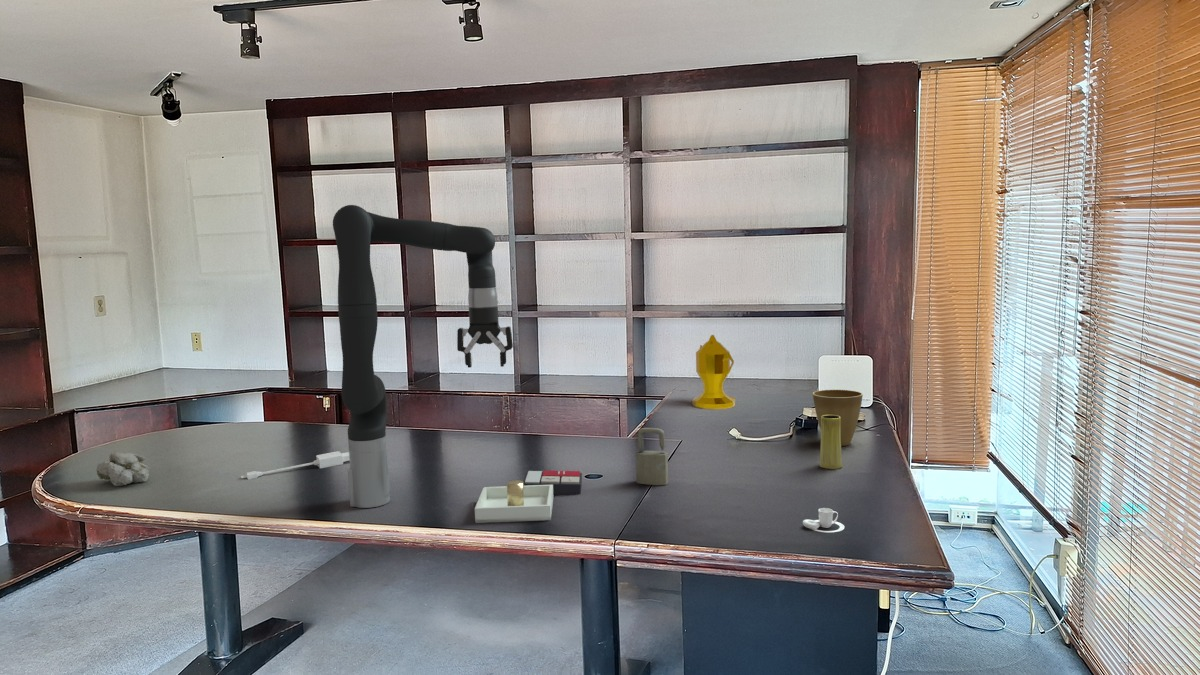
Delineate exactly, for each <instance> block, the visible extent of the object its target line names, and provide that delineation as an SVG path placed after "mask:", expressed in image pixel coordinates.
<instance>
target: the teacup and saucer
mask: <svg viewBox="0 0 1200 675" xmlns="http://www.w3.org/2000/svg"><path fill="white" fill-rule="evenodd" d="M817 512H818V519H803V520H802V525H803V526H804V527H805V528H808V529H810V530H812V531H814V532H818V533H824V534H825V533H827V534H829V533H830V534H831V533H834V534H835V533H838V532H842V531H843V530H845V525H844V524H843V523H841V522H838V521H837V520H838V519H839V513H838V512H837V511H834V510H833V509H832V508H828V507H821V508H818V511H817ZM835 513H836V517H835V519H834V514H835ZM833 519H834V520H833ZM833 524H835V525H837V526H839V527H838V529H835V530H820V529H819V528H820V527H822V528H825V529H828V528H831V527H832V526H833Z"/></svg>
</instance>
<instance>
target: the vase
mask: <svg viewBox="0 0 1200 675" xmlns="http://www.w3.org/2000/svg"><path fill="white" fill-rule="evenodd" d="M819 451H820V452H819V453H820V454H819V467H820V468H823V469H826V470H838V469H841V468H842V467H843V460H842V446H841V417H840V416H838V415H823V416H821V429H820V450H819Z"/></svg>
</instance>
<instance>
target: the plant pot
mask: <svg viewBox="0 0 1200 675" xmlns="http://www.w3.org/2000/svg"><path fill="white" fill-rule="evenodd" d="M812 397H813V405H814V409H815V414H816V419H817V423H818V427H819V429H820V430H821V416H823V415H838V416H840V417H841V447H844V446H845V447H846V446H849V445H850V444H851V442H852V440H853V438H854V436H855V435H854V434H855V431H856V429H857V426H858V420H859V418H860V413H861V408H862V402H863V392H860V391H856V390H851V389H849V390H848V389H824V390H823V389H822V390H816V391H813V392H812Z"/></svg>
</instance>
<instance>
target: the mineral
mask: <svg viewBox="0 0 1200 675" xmlns="http://www.w3.org/2000/svg"><path fill="white" fill-rule="evenodd" d="M145 459H146V456H144V455H139V454H137V453H132V452H131V453H130V452H124V453H122V452H119V451H118V452H117V451H116V452H115V451H114V452H111V453H109V458H108V460H109V461H102V462H100V463H97V466H96V475H97V476H98V478H99V479H100V480H105V481H107V480H109V481H110V482H111V484H112V485H114V486H116V487H123V486H126V485H130V484H131V483H142V484H143V483H146V482H148V479H149V477H150V471H151V468H150V467H149V466H148V465H146V464H144V461H145Z"/></svg>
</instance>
